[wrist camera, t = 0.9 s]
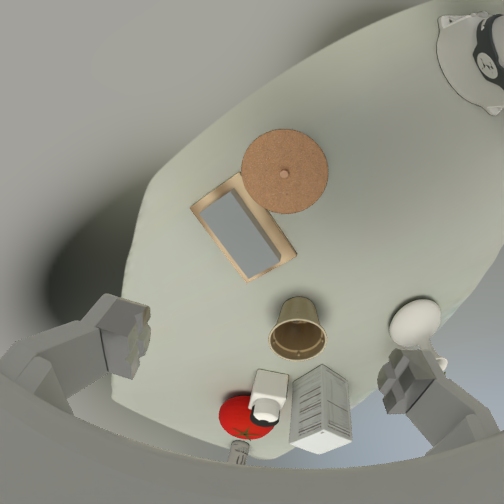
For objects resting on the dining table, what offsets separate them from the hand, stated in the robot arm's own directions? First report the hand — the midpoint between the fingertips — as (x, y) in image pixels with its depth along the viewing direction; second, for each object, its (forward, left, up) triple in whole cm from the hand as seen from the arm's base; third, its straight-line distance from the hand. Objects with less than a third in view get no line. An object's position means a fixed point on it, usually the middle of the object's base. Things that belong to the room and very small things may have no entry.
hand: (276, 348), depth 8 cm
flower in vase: (-5, +37, -36) cm, 52 cm away
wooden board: (+12, +4, -36) cm, 38 cm away
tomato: (+39, +43, -36) cm, 68 cm away
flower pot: (+13, +22, -36) cm, 44 cm away
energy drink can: (+58, +64, -36) cm, 93 cm away
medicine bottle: (+29, +37, -36) cm, 59 cm away
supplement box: (+19, +43, -36) cm, 59 cm away
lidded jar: (+1, -1, -36) cm, 36 cm away
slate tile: (+12, +4, -35) cm, 37 cm away
